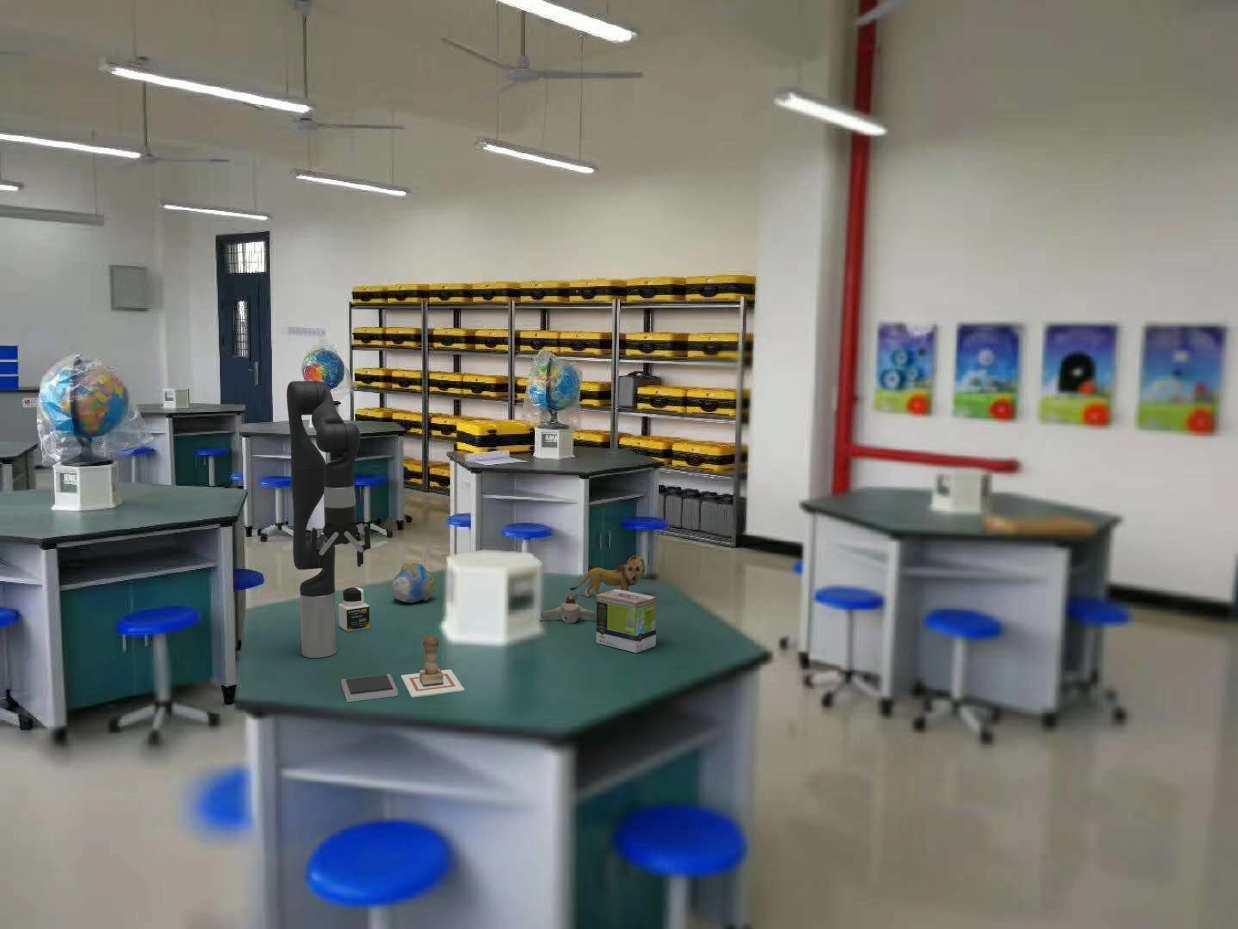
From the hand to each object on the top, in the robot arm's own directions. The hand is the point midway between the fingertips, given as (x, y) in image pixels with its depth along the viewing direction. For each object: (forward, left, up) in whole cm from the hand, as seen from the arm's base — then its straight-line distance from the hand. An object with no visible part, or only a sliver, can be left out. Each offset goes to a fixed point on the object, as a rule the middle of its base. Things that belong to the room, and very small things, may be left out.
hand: (341, 567), depth 241 cm
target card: (+9, +21, -30) cm, 37 cm away
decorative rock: (-73, +30, -30) cm, 84 cm away
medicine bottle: (-48, +8, -30) cm, 57 cm away
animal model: (-55, +93, -30) cm, 112 cm away
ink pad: (+8, +5, -30) cm, 31 cm away
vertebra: (-33, +72, -30) cm, 85 cm away
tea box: (-4, +79, -30) cm, 85 cm away
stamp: (+9, +20, -29) cm, 37 cm away
